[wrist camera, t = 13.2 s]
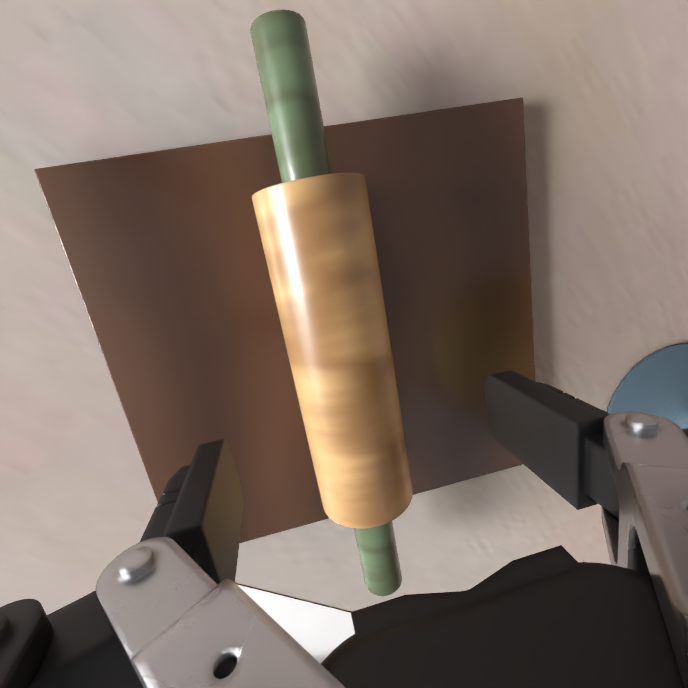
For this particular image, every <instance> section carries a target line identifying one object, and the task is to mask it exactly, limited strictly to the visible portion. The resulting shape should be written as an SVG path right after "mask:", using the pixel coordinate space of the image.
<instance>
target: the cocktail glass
mask: <svg viewBox="0 0 688 688" xmlns="http://www.w3.org/2000/svg"><path fill="white" fill-rule="evenodd" d="M625 411H635V412H645V413H650V414H655V415H658V416H662V417H664V418H667V419H669V420H671V421H673V422H675V423H676V424H677V425H679V426H680V428H681V429H687V428H688V343H686V344H676V345H672V346H668V347H665V348H663V349H660V350H658V351H656V352H654V353H653V354H651V355H649V356H648V357H646V358H645V359H643V360H642V361H641V362H640V363H638V364H637V365H636V366H635V367H634V368H633V369H632V370H631V371H630V372H629V373H628V374H627V375H626V377H625V378H624V379H623V381H622V382H621V383H620V385H619V386H618V388H617V390H616V391H615V393H614V395H613V397H612V400H611V402H610V404H609V407H608V411H607V413H609V414H613V413H617V412H625Z"/></svg>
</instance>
